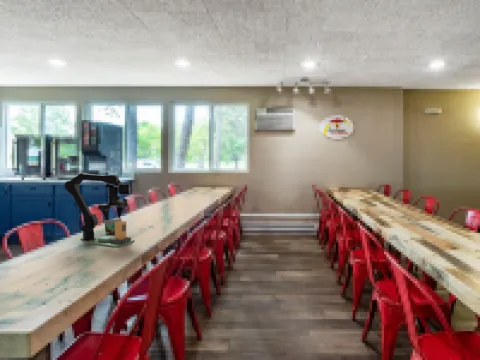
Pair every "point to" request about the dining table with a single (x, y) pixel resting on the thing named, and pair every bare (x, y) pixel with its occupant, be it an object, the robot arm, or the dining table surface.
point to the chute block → (120, 230)
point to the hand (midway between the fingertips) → (113, 219)
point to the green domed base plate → (112, 241)
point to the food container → (110, 226)
